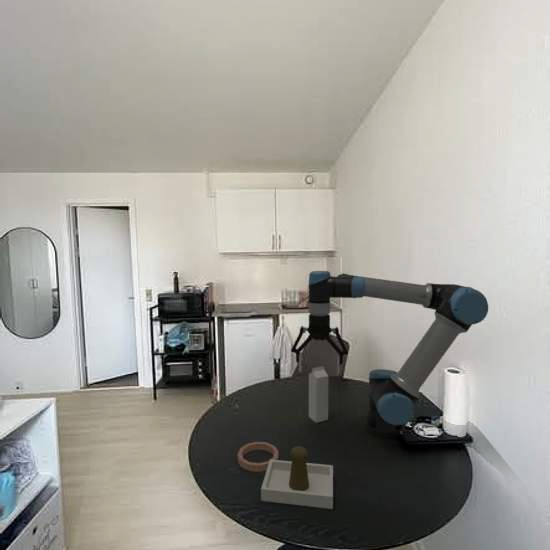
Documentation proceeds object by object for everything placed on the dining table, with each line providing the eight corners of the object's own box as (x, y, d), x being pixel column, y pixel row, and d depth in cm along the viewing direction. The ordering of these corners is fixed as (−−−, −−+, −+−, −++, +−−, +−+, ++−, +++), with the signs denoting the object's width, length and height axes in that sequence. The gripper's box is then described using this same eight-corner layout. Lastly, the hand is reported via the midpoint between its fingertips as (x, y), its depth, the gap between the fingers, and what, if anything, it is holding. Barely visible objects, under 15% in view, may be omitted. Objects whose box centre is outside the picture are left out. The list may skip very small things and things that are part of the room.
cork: (295, 494, 98) (295, 457, 97) (285, 481, 103) (285, 446, 103) (313, 487, 101) (313, 451, 100) (302, 475, 106) (302, 441, 106)
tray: (332, 476, 108) (332, 465, 107) (332, 509, 94) (332, 496, 94) (270, 469, 111) (270, 459, 111) (261, 500, 97) (261, 488, 97)
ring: (280, 449, 122) (280, 443, 122) (274, 473, 109) (274, 467, 109) (244, 446, 124) (244, 440, 124) (233, 469, 111) (233, 463, 111)
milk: (308, 417, 146) (308, 366, 145) (320, 413, 149) (320, 364, 148) (316, 423, 141) (316, 370, 139) (328, 419, 144) (328, 368, 142)
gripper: (354, 313, 124) (353, 370, 126) (286, 311, 129) (286, 366, 130) (355, 316, 117) (355, 377, 119) (283, 315, 121) (283, 373, 123)
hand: (319, 372), depth 124 cm, fingers open, 13 cm apart
